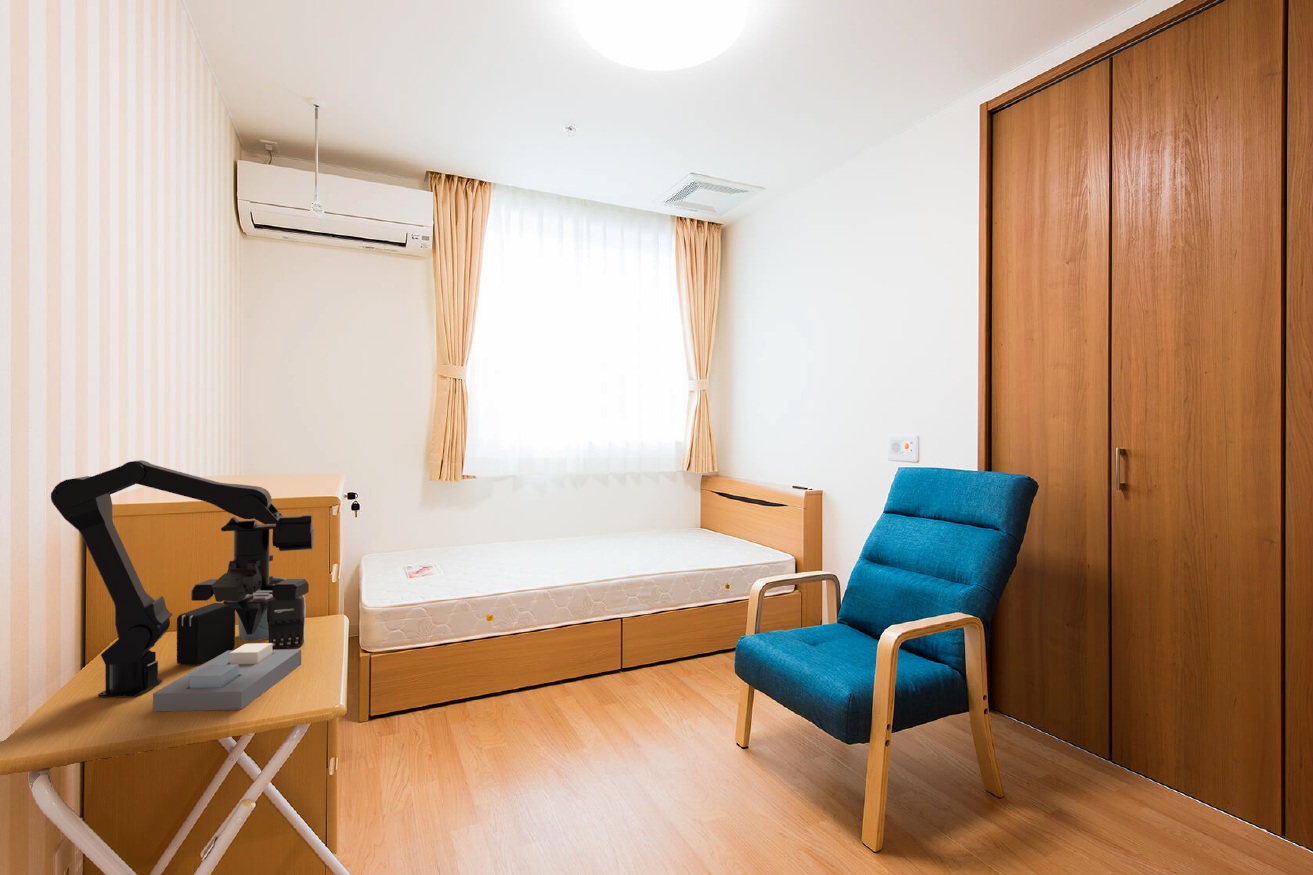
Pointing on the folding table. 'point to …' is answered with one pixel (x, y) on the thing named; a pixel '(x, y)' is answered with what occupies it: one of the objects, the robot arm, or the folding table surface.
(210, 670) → the slate key
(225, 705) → the key panel
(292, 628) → the battery charger
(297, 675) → the folding table surface
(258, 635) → the teal cup
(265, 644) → the ivory key
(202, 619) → the electronic device
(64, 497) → the robot arm
